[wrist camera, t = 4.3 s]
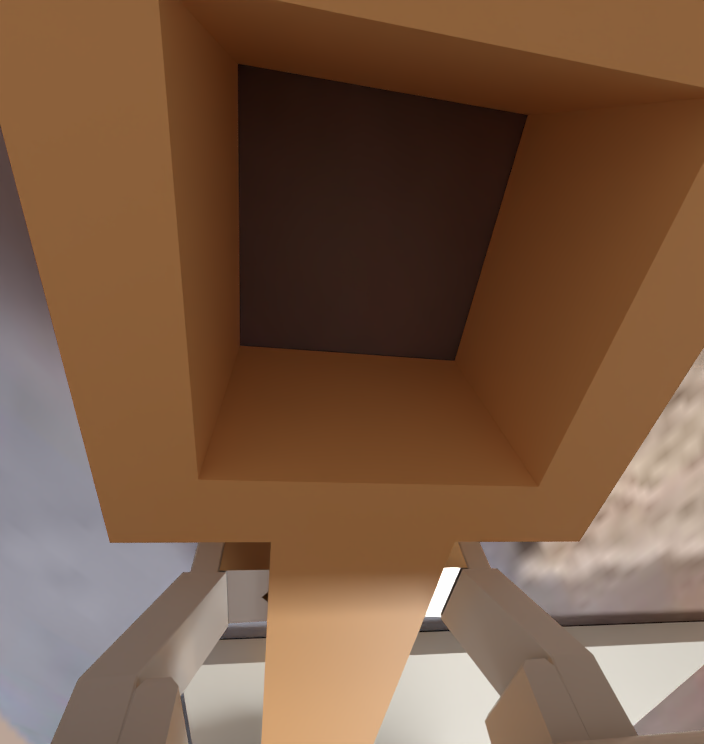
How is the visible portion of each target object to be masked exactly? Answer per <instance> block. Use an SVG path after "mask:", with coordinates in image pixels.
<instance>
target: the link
mask: <svg viewBox="0 0 704 744" xmlns="http://www.w3.org/2000/svg"><path fill="white" fill-rule="evenodd" d="M238 64H243V65H248V66H254V67H259V68H265V69H271V70H276V71H282V72H288V73H293V74H299V75H305V76H310V77H316V78H322V79H327V80H333V81H338V82H344V83H350V84H355V85H361V86H367V87H372V88H378V89H384V90H389V91H395V92H401V93H406V94H412V95H417V96H423V97H429V98H434V99H440V100H446V101H451V102H457V103H463V104H468V105H474V106H480V107H485V108H491V109H497V110H502V111H508V112H513V113H519V114H525V115H528V116H527V119H526V123H525V126H524V129H523V133H522V136H521V140H520V143H519V146H518V150H517V153H516V156H515V160H514V163H513V166H512V170H511V173H510V176H509V180H508V183H507V187H506V190H505V193H504V197H503V200H502V203H501V207H500V210H499V213H498V217H497V220H496V224H495V227H494V230H493V234H492V237H491V240H490V244H489V247H488V250H487V254H486V257H485V260H484V264H483V267H482V271H481V274H480V277H479V281H478V284H477V287H476V291H475V294H474V297H473V301H472V304H471V307H470V311H469V314H468V318H467V321H466V324H465V328H464V331H463V334H462V338H461V341H460V344H459V348H458V351H457V355H456V358H455V361H450V360H436V359H422V358H408V357H394V356H380V355H366V354H352V353H338V352H324V351H310V350H296V349H282V348H268V347H254V346H240V275H239V156H238ZM0 126H1V129H2V133H3V137H4V141H5V145H6V148H7V152H8V156H9V160H10V164H11V168H12V171H13V175H14V179H15V183H16V187H17V190H18V194H19V198H20V202H21V206H22V209H23V213H24V217H25V221H26V225H27V228H28V232H29V236H30V240H31V244H32V248H33V251H34V255H35V259H36V263H37V267H38V270H39V274H40V278H41V282H42V286H43V289H44V293H45V297H46V301H47V305H48V308H49V312H50V316H51V320H52V324H53V328H54V331H55V335H56V339H57V343H58V347H59V350H60V354H61V358H62V362H63V366H64V369H65V373H66V377H67V381H68V385H69V388H70V392H71V396H72V400H73V404H74V408H75V411H76V415H77V419H78V423H79V427H80V430H81V434H82V438H83V442H84V446H85V449H86V453H87V457H88V461H89V465H90V468H91V472H92V476H93V480H94V484H95V488H96V491H97V495H98V499H99V503H100V507H101V510H102V514H103V518H104V522H105V526H106V529H107V533H108V537H109V541H110V543H162V542H271V550H270V571H269V592H268V613H267V634H266V655H265V676H264V697H263V718H262V739H261V744H374V742H375V739H376V737H377V734H378V732H379V729H380V727H381V724H382V722H383V719H384V717H385V714H386V712H387V709H388V707H389V704H390V702H391V699H392V697H393V694H394V692H395V689H396V687H397V684H398V682H399V680H400V677H401V675H402V672H403V670H404V667H405V665H406V662H407V660H408V657H409V655H410V652H411V650H412V647H413V645H414V642H415V640H416V637H417V635H418V632H419V630H420V627H421V625H422V622H423V620H424V617H425V615H426V612H427V610H428V607H429V605H430V602H431V600H432V597H433V595H434V592H435V590H436V587H437V585H438V582H439V580H440V577H441V575H442V572H443V570H444V567H445V565H446V563H447V560H448V558H449V555H450V553H451V550H452V548H453V545H454V543H455V542H553V541H580V540H581V538H582V536H583V535H584V533H585V532H586V530H587V529H588V527H589V526H590V524H591V522H592V521H593V519H594V518H595V516H596V515H597V513H598V512H599V510H600V508H601V507H602V505H603V504H604V502H605V501H606V499H607V497H608V496H609V494H610V493H611V491H612V490H613V488H614V487H615V485H616V483H617V482H618V480H619V479H620V477H621V476H622V474H623V473H624V471H625V469H626V468H627V466H628V465H629V463H630V462H631V460H632V458H633V457H634V455H635V454H636V452H637V451H638V449H639V448H640V446H641V444H642V443H643V441H644V440H645V438H646V437H647V435H648V434H649V432H650V430H651V429H652V427H653V426H654V424H655V423H656V421H657V419H658V418H659V416H660V415H661V413H662V412H663V410H664V409H665V407H666V405H667V404H668V402H669V401H670V399H671V398H672V396H673V395H674V393H675V391H676V390H677V388H678V387H679V385H680V384H681V382H682V380H683V379H684V377H685V376H686V374H687V373H688V371H689V370H690V368H691V366H692V365H693V363H694V362H695V360H696V359H697V357H698V356H699V354H700V352H701V351H702V349H703V348H704V0H0Z"/></svg>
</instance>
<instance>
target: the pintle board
mask: <svg viewBox="0 0 704 744" xmlns="http://www.w3.org/2000/svg"><path fill="white" fill-rule="evenodd" d="M563 628H564V629H565V630H566V631H567V632H569V633H570V634H571V635H572V636H573V637H574V638H575V639H576V640H577V641H579V642H580V643H581V644H582V645H583V646H584V647H585V648H586V649H588V650H589V651H590V652H591V653H592V654H593V655H594V657H595V659H596V661H597V662H598V664H599V666H600V668H601V670H602V671H603V673H604V675H605V677H606V679H607V680H608V682H609V684H610V686H611V688H612V689H613V691H614V693H615V695H616V697H617V698H618V700H619V702H620V704H621V706H622V707H623V709H624V711H625V713H626V715H627V716H628V718H629V720H630V722H631V724H632V725H635V724H636V723H637V722H638V721H639V720H640V719H642V718H643V717H644V716H645V715H646V714H647V713H649V712H650V711H651V710H652V709H653V708H654V707H655V706H657V705H658V704H659V703H660V702H661V701H662V700H664V699H665V698H666V697H667V696H668V695H669V694H670V693H672V692H673V691H674V690H675V689H676V688H677V687H679V686H680V685H681V684H682V683H683V682H684V681H686V680H687V679H688V678H689V677H690V676H691V675H692V674H694V673H695V672H696V671H697V670H698V669H699V668H701V667H702V666H703V665H704V621H703V622H677V623H651V624H625V625H599V626H572V627H563ZM265 655H266V638H258V639H232V640H219V641H218V642H217V643H216V645H215V646H214V648H213V649H212V651H211V652H210V654H209V655H208V657H207V658H206V660H205V661H204V663H203V664H202V666H201V667H200V668H199V670H198V671H197V673H196V674H195V676H194V677H193V679H192V680H191V682H190V683H189V685H188V686H187V688H186V689H185V691H184V698H185V704H186V710H187V716H188V722H189V728H190V734H191V740H192V744H261V739H262V718H263V697H264V676H265ZM499 697H500V695H499V694H498V693H497V691H496V690H495V689H494V688H493V686H492V685H491V684H490V682H489V681H488V680H487V678H486V677H485V676H484V675H483V673H482V672H481V671H480V669H479V668H478V667H477V665H476V664H475V663H474V661H473V660H472V659H471V658H470V656H469V655H468V654H467V652H466V651H465V650H464V648H463V647H462V646H461V645H460V643H459V642H458V641H457V639H456V638H455V637H454V635H453V634H452V633H451V631H441V632H418V635H417V637H416V640H415V642H414V645H413V647H412V650H411V652H410V655H409V657H408V660H407V662H406V665H405V667H404V670H403V672H402V675H401V677H400V680H399V682H398V684H397V687H396V689H395V692H394V694H393V697H392V699H391V702H390V704H389V707H388V709H387V712H386V714H385V717H384V719H383V722H382V724H381V727H380V729H379V732H378V734H377V737H376V739H375V742H374V744H491V741H490V738H489V735H488V731H487V728H486V724H485V719H486V717H487V715H488V713H489V712H490V711H491V709H492V708H493V706H494V705H495V703H496V702H497V700H498V699H499Z"/></svg>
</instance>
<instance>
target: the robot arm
mask: <svg viewBox="0 0 704 744" xmlns="http://www.w3.org/2000/svg"><path fill="white" fill-rule="evenodd" d="M270 550H271V542H198V545H197V549H196V553H195V556H194V560H193V564H192V568H191V571H190V572H183V573H182V574H181V575H180V576H179V577H178V578H177V579H176V580H175V581H174V582H173V583H172V584H171V585H170V586H169V587H168V588H167V589H166V590H165V591H164V592H163V593H162V594H161V595H160V596H159V597H158V598H157V599H156V600H155V601H154V603H153V604H152V605H151V606H150V607H149V608H148V609H147V610H146V611H145V612H144V613H143V614H142V615H141V616H140V617H139V618H138V619H137V620H136V621H135V622H134V623H133V624H132V625H131V626H130V627H129V628H128V629H127V630H126V631H125V632H124V633H123V634H122V635H121V636H120V637H119V638H118V639H117V640H116V641H115V642H114V643H113V644H112V645H111V646H110V647H109V648H108V649H107V650H106V651H105V652H104V653H103V655H102V656H101V657H100V658H99V659H98V660H97V661H96V662H95V663H94V664H93V665H92V666H91V667H90V668H89V669H88V670H87V671H86V672H85V673H84V674H83V675H82V676H81V677H80V678H79V679H78V681H77V683H76V686H75V688H74V690H73V693H72V695H71V697H70V700H69V702H68V705H67V707H66V709H65V712H64V714H63V716H62V719H61V721H60V723H59V726H58V728H57V730H56V733H55V735H54V738H53V740H52V742H51V744H188V739H187V733H186V727H185V721H184V715H183V709H182V703H181V698H180V696H181V695H182V694H183V692H184V691H185V689H186V688H187V686H188V685H189V683H190V682H191V680H192V679H193V677H194V676H195V674H196V673H197V671H198V670H199V668H200V667H201V666H202V664H203V663H204V661H205V660H206V658H207V657H208V655H209V654H210V652H211V651H212V649H213V648H214V646H215V645H216V643H217V642H218V641H219V639H220V638H221V636H222V635H223V633H224V632H225V630H226V629H227V627H228V623H242V622H259V621H267V613H268V592H269V571H270ZM425 617H441V620H442V621H443V622H444V624H445V625H446V626H447V628H448V629H449V630H450V631H451V633H452V634H453V635H454V637H455V638H456V639H457V641H458V642H459V643H460V645H461V646H462V647H463V648H464V650H465V651H466V652H467V654H468V655H469V656H470V658H471V659H472V660H473V661H474V663H475V664H476V665H477V667H478V668H479V669H480V671H481V672H482V673H483V675H484V676H485V677H486V678H487V680H488V681H489V682H490V684H491V685H492V686H493V688H494V689H495V690H496V691H497V693H498V694H499V695H500V697H499V699H498V700H497V702H496V703H495V705H494V706H493V708H492V709H491V711H490V712H489V713H488V715H487V717H486V719H485V724H486V728H487V731H488V735H489V738H490V741H491V744H704V730H698V731H686V732H675V733H663V734H652V735H641V736H638V734H637V733H636V731H635V729H634V727H633V725H632V724H631V722H630V720H629V718H628V716H627V715H626V713H625V711H624V709H623V707H622V706H621V704H620V702H619V700H618V698H617V697H616V695H615V693H614V691H613V689H612V688H611V686H610V684H609V682H608V680H607V679H606V677H605V675H604V673H603V671H602V670H601V668H600V666H599V664H598V662H597V661H596V659H595V657H594V655H593V654H592V653H591V652H590V651H589V650H588V649H586V648H585V647H584V646H583V645H582V644H581V643H580V642H579V641H577V640H576V639H575V638H574V637H573V636H572V635H571V634H570V633H569V632H567V631H566V630H565V629H564V628H563V627H562V626H561V625H560V624H558V623H557V622H556V621H555V620H554V619H553V618H552V617H551V616H549V615H548V614H547V613H546V612H545V611H544V610H543V609H542V608H541V607H539V606H538V605H537V604H536V603H535V602H534V601H533V600H532V599H530V598H529V597H528V596H527V595H526V594H525V593H524V592H523V591H521V590H520V589H519V588H518V587H517V586H516V585H515V584H514V583H513V582H511V581H510V580H509V579H508V578H507V577H506V576H505V575H504V574H502V573H501V572H500V571H499V570H498V569H494V568H491V567H490V565H489V563H488V560H487V558H486V556H485V554H484V551H483V549H482V547H481V545H480V542H455V543H454V545H453V548H452V550H451V553H450V555H449V558H448V560H447V563H446V565H445V567H444V570H443V572H442V575H441V577H440V580H439V582H438V585H437V587H436V590H435V592H434V595H433V597H432V600H431V602H430V605H429V607H428V610H427V612H426V615H425Z"/></svg>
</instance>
